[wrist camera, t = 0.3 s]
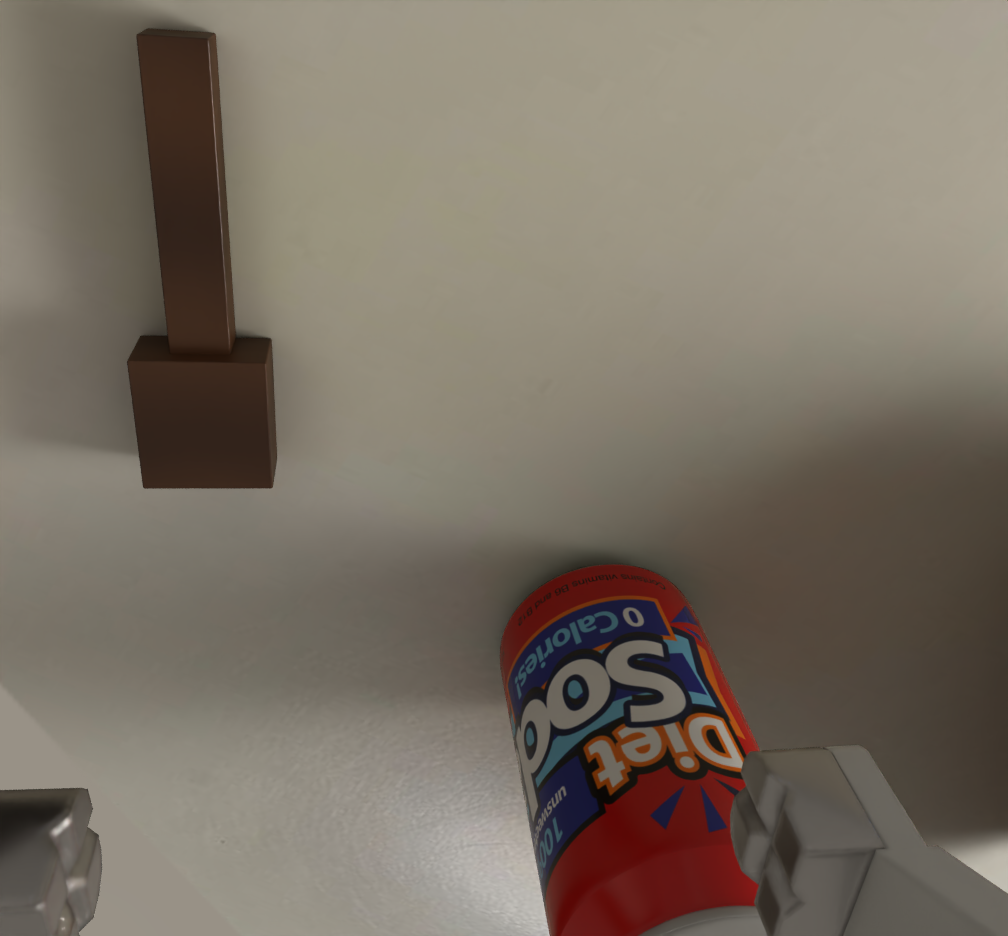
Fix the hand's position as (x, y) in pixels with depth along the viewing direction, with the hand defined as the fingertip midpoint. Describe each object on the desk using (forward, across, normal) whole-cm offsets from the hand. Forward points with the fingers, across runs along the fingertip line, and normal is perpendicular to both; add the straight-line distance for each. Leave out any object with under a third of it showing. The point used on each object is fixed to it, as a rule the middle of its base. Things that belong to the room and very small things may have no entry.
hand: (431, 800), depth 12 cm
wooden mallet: (+21, +6, 0) cm, 21 cm away
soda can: (+21, -8, +15) cm, 27 cm away
